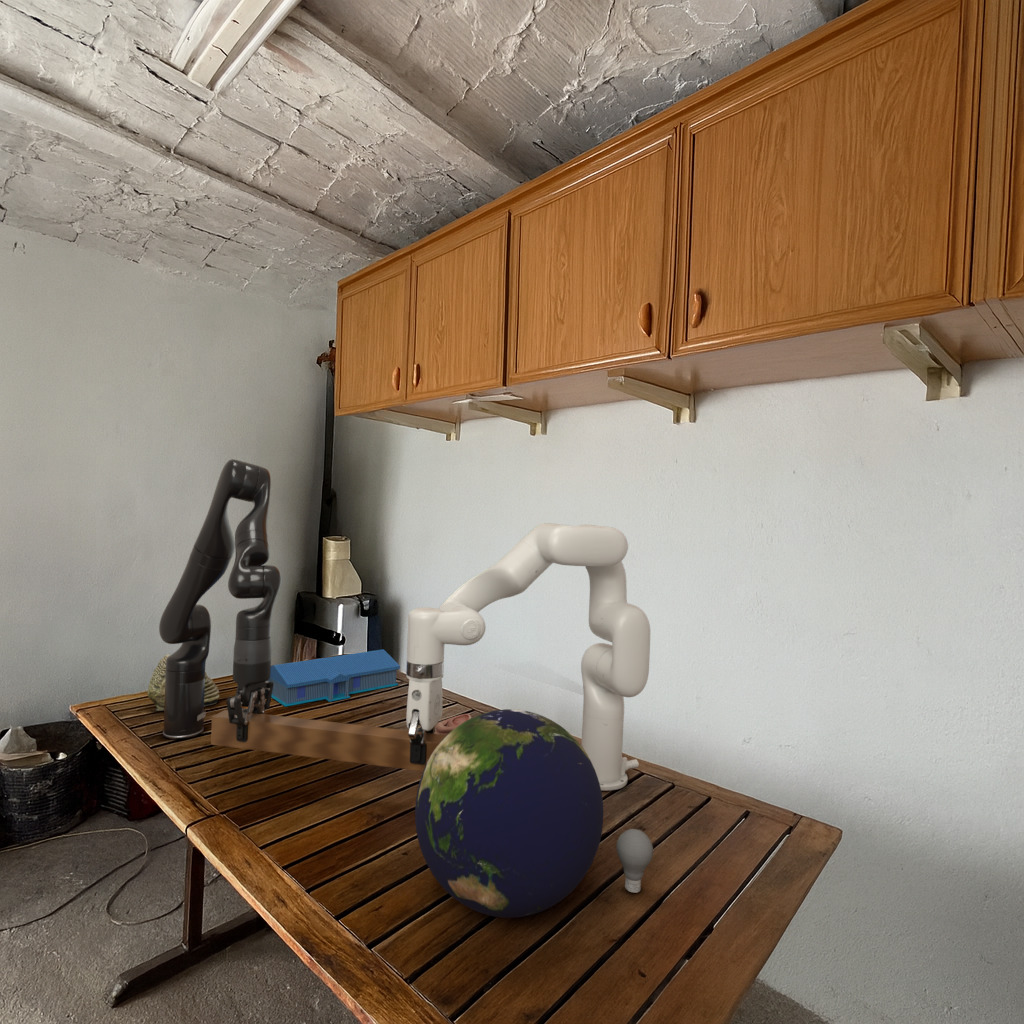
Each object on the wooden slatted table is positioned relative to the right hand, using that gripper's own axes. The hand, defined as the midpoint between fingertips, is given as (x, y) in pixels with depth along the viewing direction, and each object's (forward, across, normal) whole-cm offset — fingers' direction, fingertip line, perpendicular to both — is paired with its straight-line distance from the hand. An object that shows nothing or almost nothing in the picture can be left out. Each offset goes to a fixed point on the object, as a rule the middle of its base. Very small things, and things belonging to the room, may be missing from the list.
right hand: (422, 756), depth 129 cm
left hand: (0, 0, +39) cm, 39 cm away
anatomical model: (+11, +43, +8) cm, 45 cm away
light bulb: (+11, -16, -43) cm, 47 cm away
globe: (+11, -24, -22) cm, 35 cm away
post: (+2, 0, +19) cm, 19 cm away
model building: (+11, +70, +54) cm, 89 cm away
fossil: (+11, +40, +86) cm, 96 cm away
